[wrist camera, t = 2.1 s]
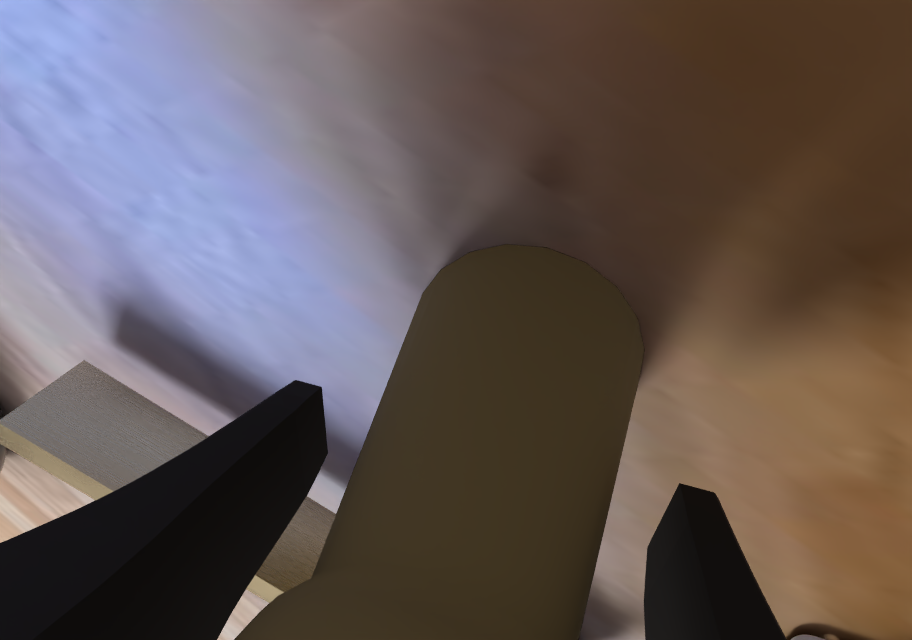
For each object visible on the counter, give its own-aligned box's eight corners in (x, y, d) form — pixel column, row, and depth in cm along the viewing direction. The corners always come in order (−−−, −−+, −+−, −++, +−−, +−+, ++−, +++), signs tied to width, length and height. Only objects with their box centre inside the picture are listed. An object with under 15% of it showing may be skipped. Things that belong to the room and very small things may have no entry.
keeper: (607, 677, 19) (602, 778, 17) (580, 686, 20) (571, 784, 18) (84, 356, 18) (-4, 418, 15) (82, 384, 19) (-2, 446, 16)
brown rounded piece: (390, 251, 14) (-75, 782, 5) (642, 235, 11) (640, 1118, 3) (439, 428, 17) (210, 951, 8) (646, 440, 14) (650, 1170, 6)
